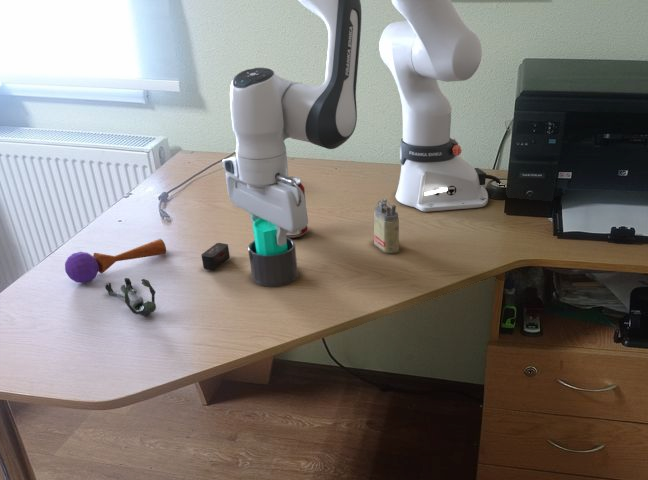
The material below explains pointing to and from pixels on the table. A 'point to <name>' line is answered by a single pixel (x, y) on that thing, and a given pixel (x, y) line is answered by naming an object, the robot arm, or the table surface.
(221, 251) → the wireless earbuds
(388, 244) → the lighter
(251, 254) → the cup
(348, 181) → the table surface
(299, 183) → the soda can
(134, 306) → the zombie figurine
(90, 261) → the kendama
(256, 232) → the candle
